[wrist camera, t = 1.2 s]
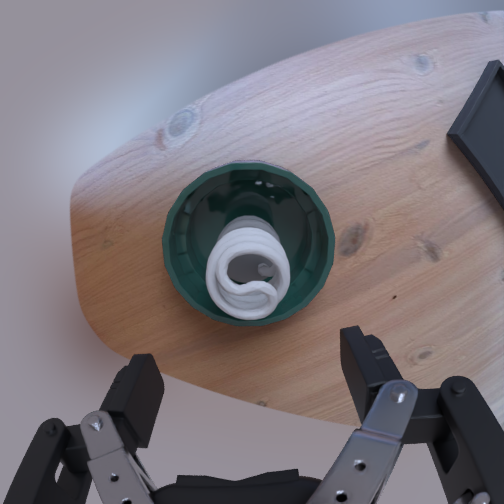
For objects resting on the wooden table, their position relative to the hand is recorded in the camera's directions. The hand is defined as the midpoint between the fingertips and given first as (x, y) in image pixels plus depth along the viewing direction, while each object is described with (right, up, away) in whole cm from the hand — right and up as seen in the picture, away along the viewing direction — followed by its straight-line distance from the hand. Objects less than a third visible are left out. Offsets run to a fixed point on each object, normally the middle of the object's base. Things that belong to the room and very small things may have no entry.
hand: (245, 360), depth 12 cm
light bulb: (0, +6, +18) cm, 19 cm away
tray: (+33, +17, +14) cm, 39 cm away
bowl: (0, +6, +18) cm, 19 cm away
